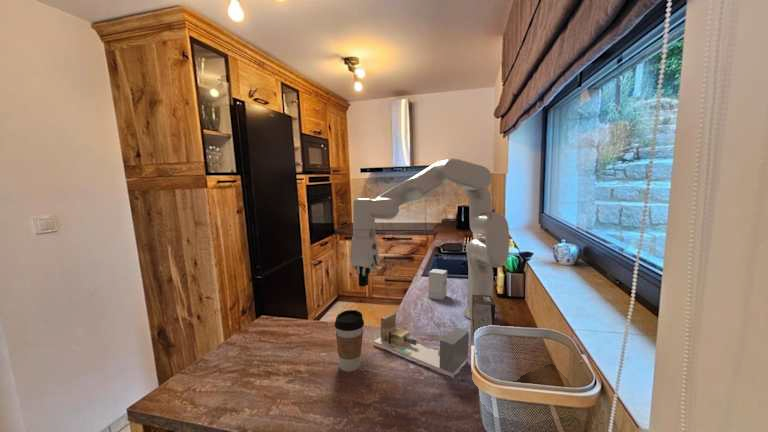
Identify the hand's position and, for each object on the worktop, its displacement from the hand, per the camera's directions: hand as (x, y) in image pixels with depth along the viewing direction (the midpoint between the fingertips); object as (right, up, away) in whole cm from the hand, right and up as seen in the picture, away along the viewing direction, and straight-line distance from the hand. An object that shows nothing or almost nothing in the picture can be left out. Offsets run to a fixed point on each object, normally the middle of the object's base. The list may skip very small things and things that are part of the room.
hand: (363, 285), depth 107 cm
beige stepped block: (+12, -16, -9) cm, 22 cm away
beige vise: (+18, -18, -13) cm, 29 cm away
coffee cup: (-3, -19, -19) cm, 27 cm away
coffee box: (+39, -18, -9) cm, 44 cm away
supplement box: (+33, -14, +38) cm, 52 cm away
